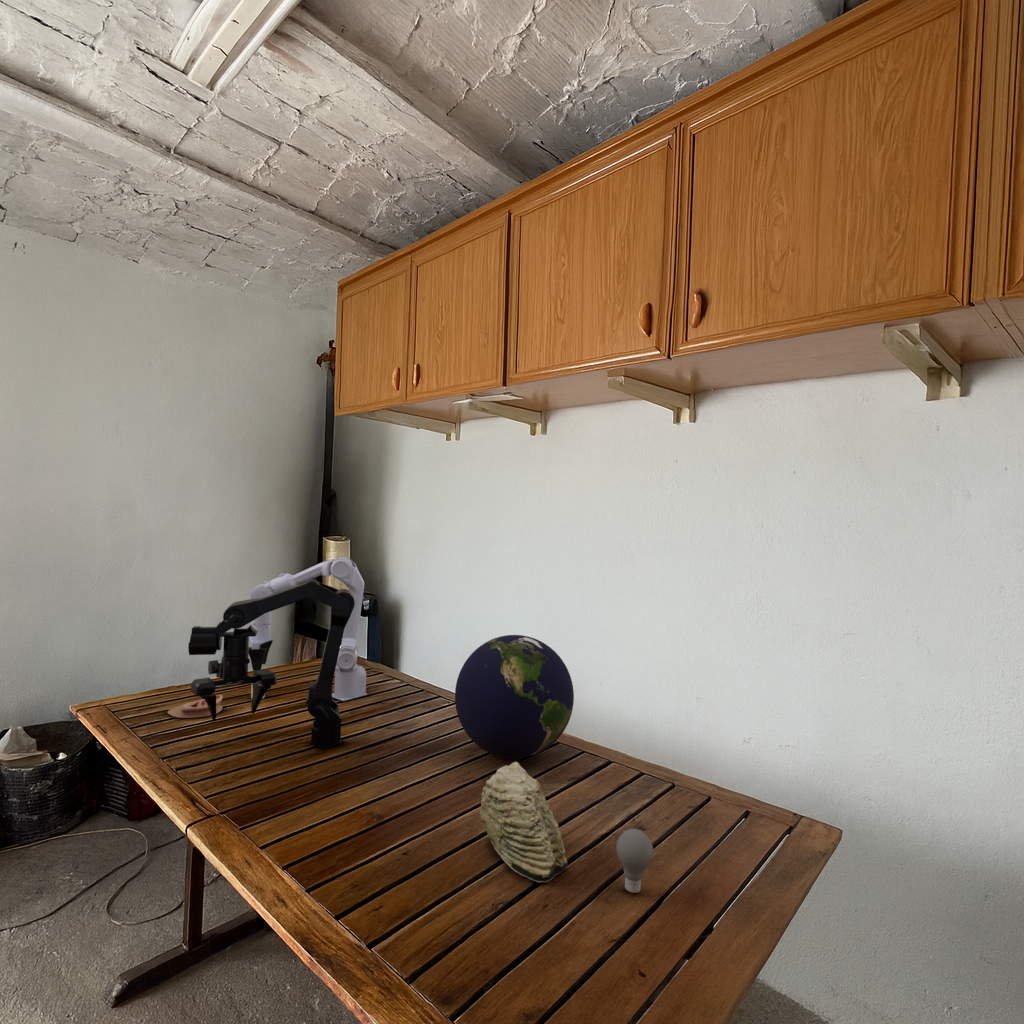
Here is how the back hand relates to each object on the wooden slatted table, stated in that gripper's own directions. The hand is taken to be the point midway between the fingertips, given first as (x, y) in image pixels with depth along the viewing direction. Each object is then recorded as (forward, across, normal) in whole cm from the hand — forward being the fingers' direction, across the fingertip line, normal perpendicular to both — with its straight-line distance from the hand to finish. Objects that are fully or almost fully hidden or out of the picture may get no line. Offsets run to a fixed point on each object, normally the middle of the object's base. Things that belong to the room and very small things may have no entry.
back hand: (259, 667), depth 196 cm
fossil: (+9, +95, +64) cm, 114 cm away
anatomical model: (+9, +13, -14) cm, 22 cm away
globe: (+9, +50, +71) cm, 87 cm away
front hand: (+1, +41, +2) cm, 41 cm away
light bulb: (+9, +107, +80) cm, 134 cm away
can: (+9, 0, 0) cm, 9 cm away
